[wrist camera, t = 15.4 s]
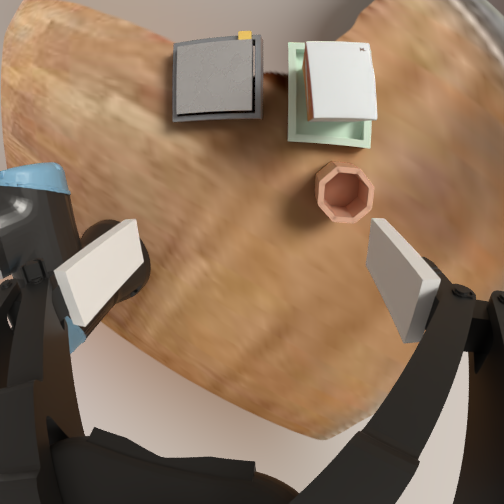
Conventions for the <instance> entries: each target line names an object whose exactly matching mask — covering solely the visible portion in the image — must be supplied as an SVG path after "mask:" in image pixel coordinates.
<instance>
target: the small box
mask: <svg viewBox="0 0 504 504" xmlns="http://www.w3.org/2000/svg"><path fill="white" fill-rule="evenodd" d="M302 71H303V77H304V86H305V96H306V107H307V121H308V122H359V121H369V120H377V101H376V88H375V76H374V70H373V64H372V57H371V51H370V45H369V43H358V42H335V41H306V42H305V51H304V58H303V65H302Z"/></svg>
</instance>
